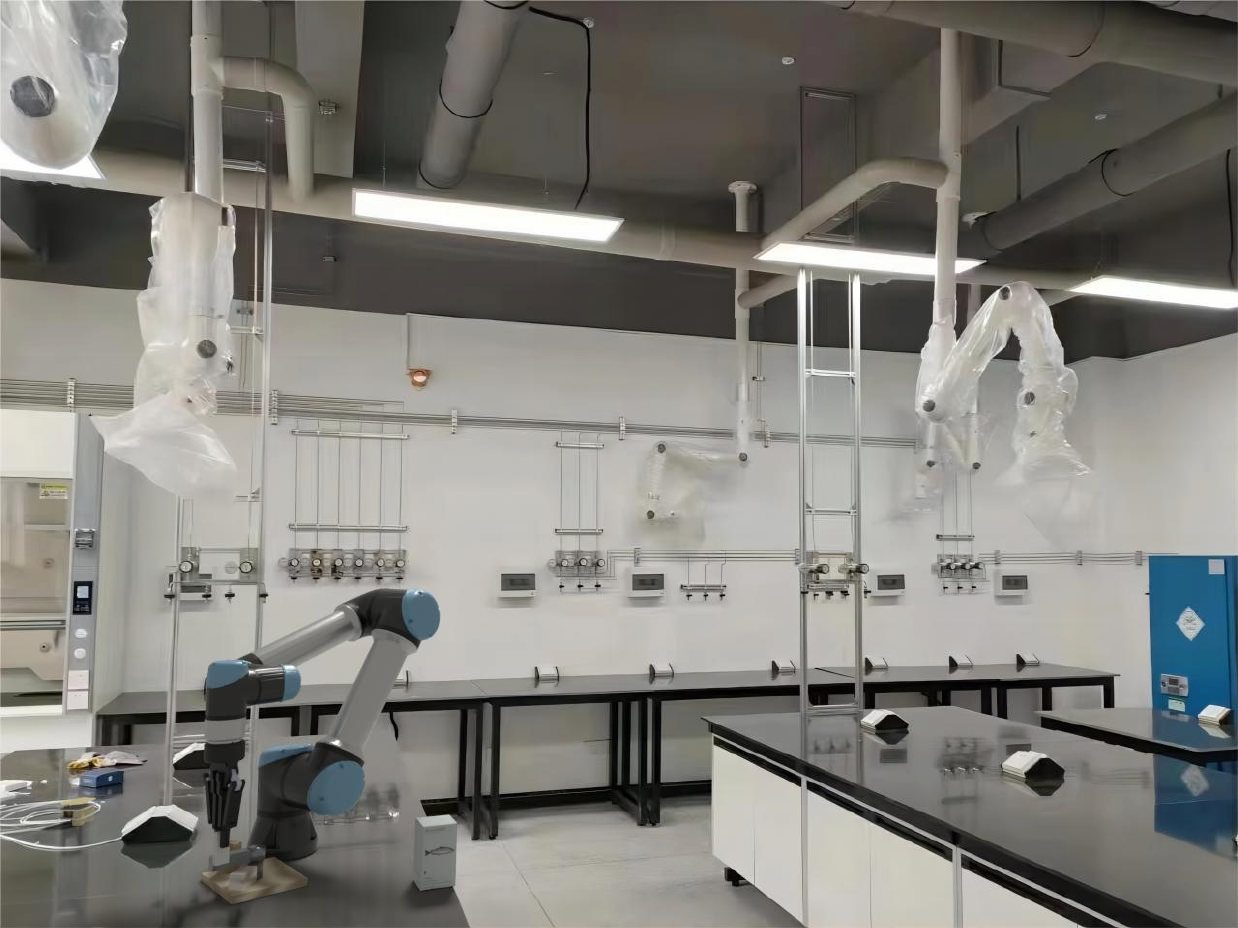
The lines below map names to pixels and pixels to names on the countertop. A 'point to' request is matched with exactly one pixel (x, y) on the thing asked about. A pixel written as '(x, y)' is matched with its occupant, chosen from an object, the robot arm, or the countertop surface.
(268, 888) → the lock plate
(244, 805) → the countertop surface
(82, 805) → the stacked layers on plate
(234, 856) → the swing bar
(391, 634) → the robot arm
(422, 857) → the supplement box
